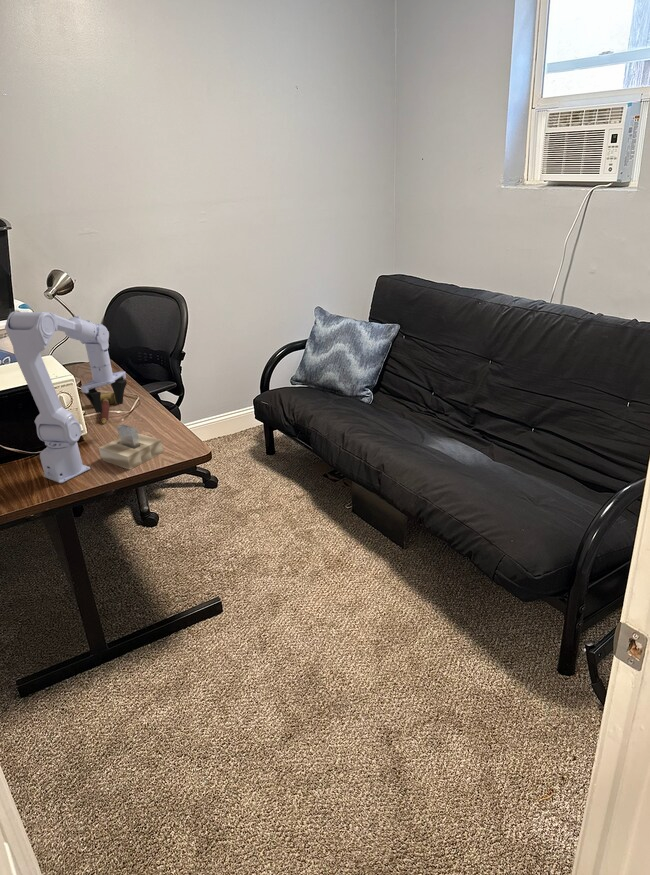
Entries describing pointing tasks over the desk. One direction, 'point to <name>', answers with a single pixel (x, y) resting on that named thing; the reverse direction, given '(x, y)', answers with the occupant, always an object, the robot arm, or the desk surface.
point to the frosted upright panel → (128, 436)
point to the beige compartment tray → (131, 452)
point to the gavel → (106, 405)
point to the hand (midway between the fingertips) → (109, 407)
